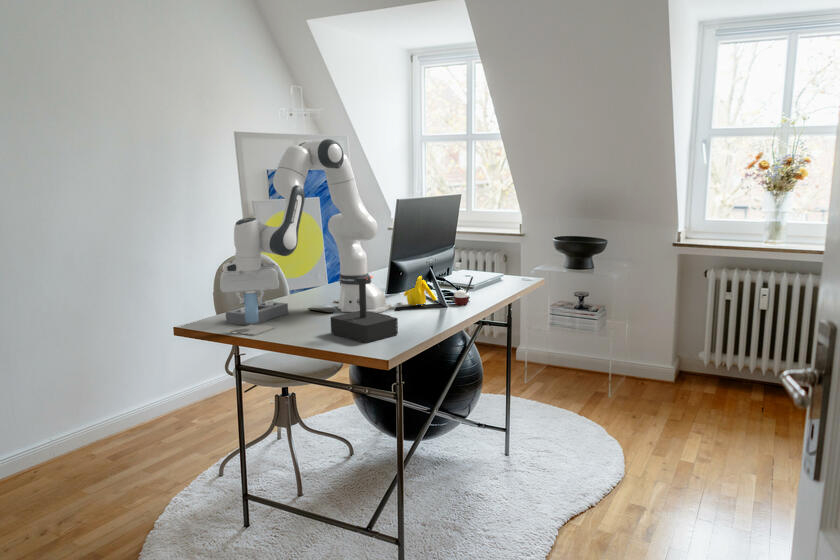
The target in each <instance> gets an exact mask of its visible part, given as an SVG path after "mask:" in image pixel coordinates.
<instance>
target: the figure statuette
mask: <svg viewBox="0 0 840 560" xmlns="http://www.w3.org/2000/svg"><path fill="white" fill-rule="evenodd" d="M422 279H423V277H422V275H421V276H419V277H418V278H417V281H416V285H415V288H412V289H410V290H408V291H406V290H405V291H404V293H403V295H404V297H406V300H407V304H408V305H409V306H415V305H416V304H424V303H426V304H427V297H426V293H427V294H428V296H429V298H430V299H432V301H433V302H434V301H436V300H437V297H436V295H435V294H434V293H433V291H432V290H431V288H430V287H429V286H428V284H427V282H426V280H424V279H423V280H422ZM422 284H423V285H422ZM425 292H426V293H425Z"/></svg>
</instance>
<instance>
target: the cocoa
mask: <svg viewBox="0 0 840 560" xmlns="http://www.w3.org/2000/svg"><path fill="white" fill-rule="evenodd" d="M473 279H474V276H471V277H470V280H469V282H468V285H467V288H466V290H463V289H459V290H457V291H455V292H454V294H453V296H451V297H450V300H451V302H453V303H454V304H456V305H457V306H460V305H463V306H466V305H468V303H469V300H470V294H469V290H470V287H471V284H472V281H473ZM465 304H466V305H465Z"/></svg>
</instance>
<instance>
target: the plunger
mask: <svg viewBox="0 0 840 560" xmlns="http://www.w3.org/2000/svg"><path fill="white" fill-rule="evenodd" d="M273 302H274V300H265V305H269V306H273Z"/></svg>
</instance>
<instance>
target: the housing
mask: <svg viewBox="0 0 840 560" xmlns="http://www.w3.org/2000/svg"><path fill="white" fill-rule="evenodd" d="M265 301H266V300H265ZM265 301H264V300H263V301H262V303H258V320H259V321H258V322H254V323H247V322H245V313H243V312H241V308H243V307H244V306H242V307H239V308H236V309H232V310H228V311H225V322H226V323H227V322H229V323H230V324H235V323H238V325H244V324H247V325H246V326H248V325H253V324H254V325H258V324H259V323H260V324H261V323H263V322H266V321H269V320H272V319H274V318H278V317H280V316H283V315H287V314H289V308H288V307H289V305H288V304H289V303H286V302H274V301H273V306H269V305H265Z"/></svg>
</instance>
